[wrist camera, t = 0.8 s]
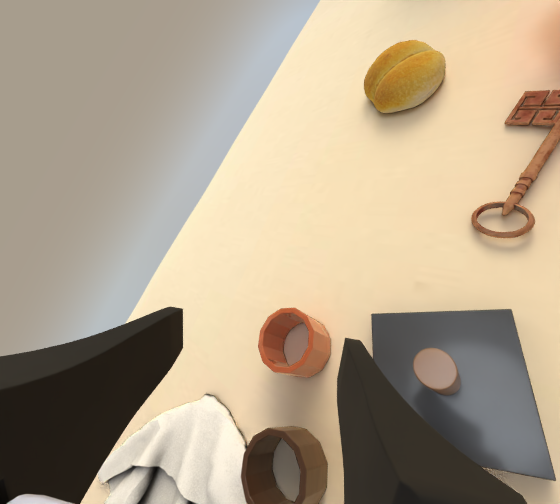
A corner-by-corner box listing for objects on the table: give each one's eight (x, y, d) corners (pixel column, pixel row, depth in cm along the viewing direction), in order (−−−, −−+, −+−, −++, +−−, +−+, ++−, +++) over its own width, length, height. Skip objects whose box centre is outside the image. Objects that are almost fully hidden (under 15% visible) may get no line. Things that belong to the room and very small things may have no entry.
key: (528, 92, 26) (440, 224, 24) (528, 83, 25) (438, 218, 24) (622, 88, 21) (521, 247, 20) (625, 77, 21) (522, 240, 20)
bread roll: (388, 127, 32) (380, 98, 29) (360, 91, 37) (350, 63, 34) (464, 81, 29) (463, 44, 26) (422, 49, 35) (417, 15, 32)
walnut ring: (326, 521, 19) (303, 538, 17) (264, 499, 22) (235, 511, 19) (328, 433, 22) (308, 436, 19) (272, 422, 24) (247, 423, 22)
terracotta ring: (329, 379, 23) (311, 375, 21) (276, 374, 26) (254, 370, 23) (331, 317, 26) (315, 306, 23) (282, 319, 28) (262, 309, 26)
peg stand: (551, 477, 15) (593, 511, 10) (380, 444, 20) (347, 456, 15) (509, 313, 19) (523, 276, 14) (375, 317, 24) (347, 290, 18)
